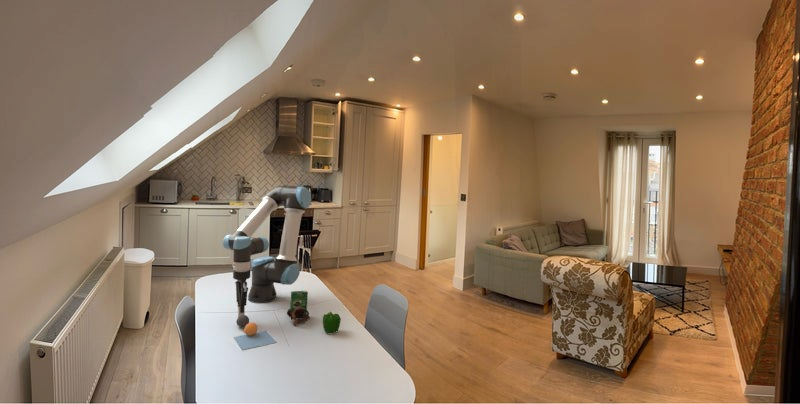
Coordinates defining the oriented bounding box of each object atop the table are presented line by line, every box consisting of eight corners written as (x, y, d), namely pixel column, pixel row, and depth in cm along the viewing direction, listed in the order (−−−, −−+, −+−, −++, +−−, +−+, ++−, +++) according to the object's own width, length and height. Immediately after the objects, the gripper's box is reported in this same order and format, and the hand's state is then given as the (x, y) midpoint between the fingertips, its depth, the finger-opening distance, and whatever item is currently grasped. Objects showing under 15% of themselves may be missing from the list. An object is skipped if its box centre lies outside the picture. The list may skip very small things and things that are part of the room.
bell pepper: (331, 326, 190) (332, 306, 189) (343, 331, 184) (344, 310, 184) (317, 331, 183) (318, 310, 182) (329, 337, 178) (330, 315, 177)
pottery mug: (312, 320, 198) (313, 309, 193) (303, 334, 190) (304, 323, 185) (290, 311, 199) (291, 300, 195) (280, 325, 192) (281, 314, 187)
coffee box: (305, 314, 203) (306, 289, 201) (307, 317, 200) (307, 291, 199) (289, 316, 199) (290, 291, 198) (290, 318, 197) (291, 292, 195)
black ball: (249, 314, 183) (250, 326, 183) (247, 313, 188) (248, 324, 187) (236, 317, 180) (238, 329, 180) (235, 315, 185) (236, 327, 185)
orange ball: (256, 319, 178) (259, 327, 174) (254, 328, 180) (258, 336, 176) (243, 321, 175) (246, 329, 171) (242, 331, 177) (245, 339, 173)
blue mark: (265, 330, 181) (265, 330, 181) (276, 342, 170) (276, 342, 170) (233, 337, 173) (233, 337, 173) (242, 350, 162) (242, 349, 162)
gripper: (230, 267, 190) (229, 315, 192) (237, 274, 179) (236, 325, 181) (246, 265, 194) (245, 312, 196) (254, 272, 184) (253, 321, 186)
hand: (241, 318), depth 189 cm, fingers closed
